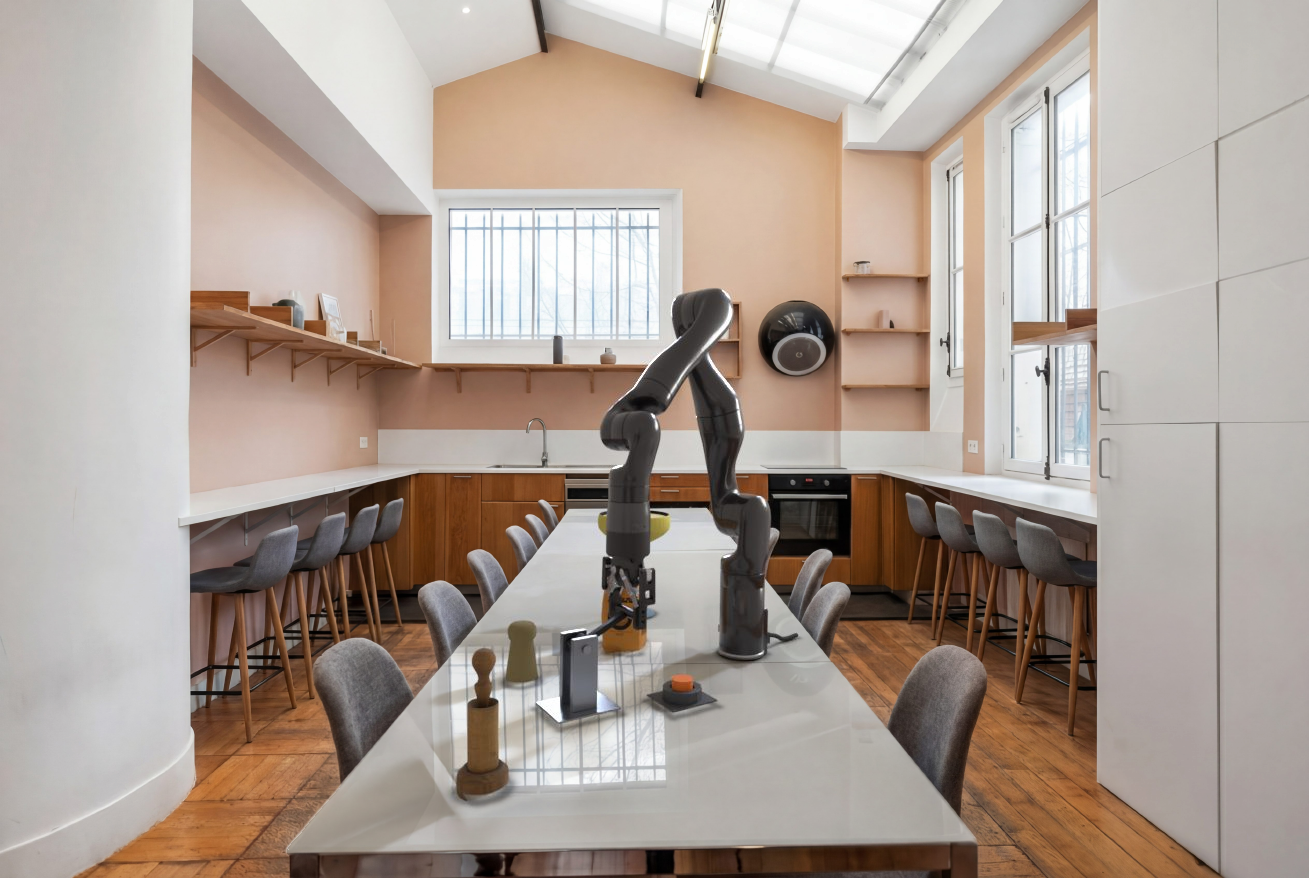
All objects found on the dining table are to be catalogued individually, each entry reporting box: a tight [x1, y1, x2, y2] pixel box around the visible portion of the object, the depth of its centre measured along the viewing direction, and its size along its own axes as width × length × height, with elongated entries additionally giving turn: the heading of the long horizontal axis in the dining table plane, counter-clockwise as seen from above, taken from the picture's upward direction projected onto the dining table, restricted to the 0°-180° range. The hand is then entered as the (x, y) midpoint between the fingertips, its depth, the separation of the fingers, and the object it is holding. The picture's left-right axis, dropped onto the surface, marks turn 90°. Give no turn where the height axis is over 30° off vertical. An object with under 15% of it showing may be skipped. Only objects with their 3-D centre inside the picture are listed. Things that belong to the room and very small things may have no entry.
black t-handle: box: [567, 604, 633, 651], centre depth 114 cm, size 12×6×2 cm, turn 122°
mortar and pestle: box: [455, 647, 510, 802], centre depth 88 cm, size 7×6×18 cm
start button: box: [671, 673, 694, 691], centre depth 116 cm, size 4×4×2 cm
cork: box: [505, 619, 538, 684], centre depth 125 cm, size 6×6×11 cm
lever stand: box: [535, 628, 622, 724], centre depth 112 cm, size 11×9×13 cm
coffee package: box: [600, 576, 648, 655], centre depth 145 cm, size 10×12×22 cm
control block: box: [646, 680, 718, 713], centre depth 116 cm, size 9×8×3 cm
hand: (626, 622), depth 117 cm, fingers open, 8 cm apart
